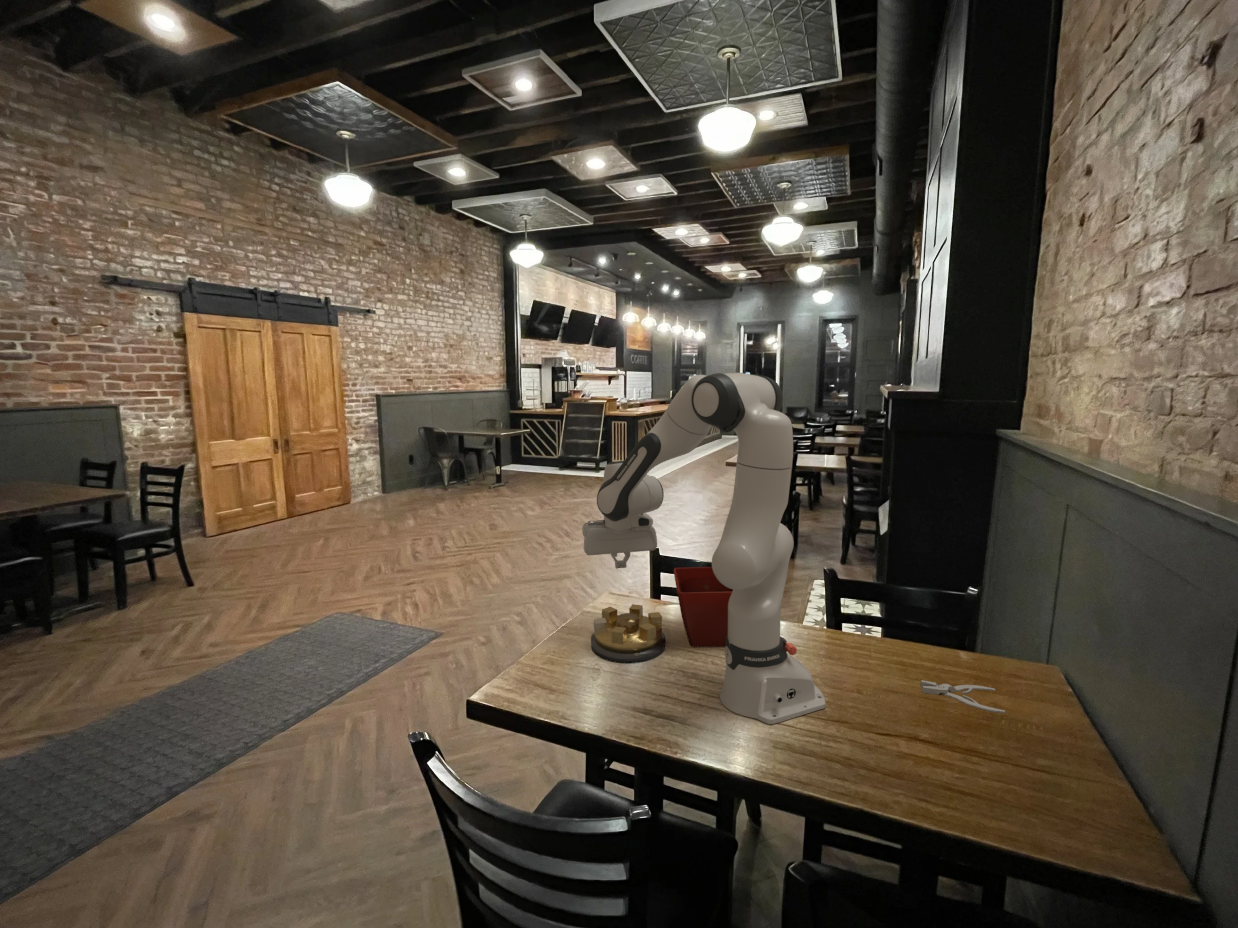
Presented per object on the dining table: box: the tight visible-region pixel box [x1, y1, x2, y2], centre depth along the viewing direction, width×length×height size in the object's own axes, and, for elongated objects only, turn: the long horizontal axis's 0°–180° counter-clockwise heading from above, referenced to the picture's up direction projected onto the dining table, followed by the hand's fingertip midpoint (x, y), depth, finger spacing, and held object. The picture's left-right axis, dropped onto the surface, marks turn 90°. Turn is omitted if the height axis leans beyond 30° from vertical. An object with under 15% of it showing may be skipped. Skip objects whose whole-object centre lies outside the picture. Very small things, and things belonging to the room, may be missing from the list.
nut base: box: [590, 631, 667, 664], centre depth 151 cm, size 20×20×2 cm
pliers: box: [920, 679, 1006, 714], centre depth 124 cm, size 10×2×15 cm
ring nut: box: [593, 603, 663, 653], centre depth 150 cm, size 18×18×6 cm
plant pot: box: [673, 566, 733, 648], centre depth 153 cm, size 19×19×17 cm
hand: (620, 567), depth 156 cm, fingers closed
